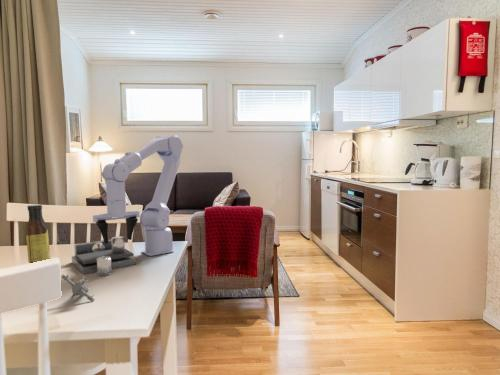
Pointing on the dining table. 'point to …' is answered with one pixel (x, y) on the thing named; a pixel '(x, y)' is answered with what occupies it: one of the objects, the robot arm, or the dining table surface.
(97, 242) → the scale
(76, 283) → the grey piece
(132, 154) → the robot arm
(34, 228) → the sauce bottle
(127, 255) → the pan
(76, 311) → the dining table surface
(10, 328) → the dining table surface
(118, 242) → the steel spacer
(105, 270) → the steel spacer
